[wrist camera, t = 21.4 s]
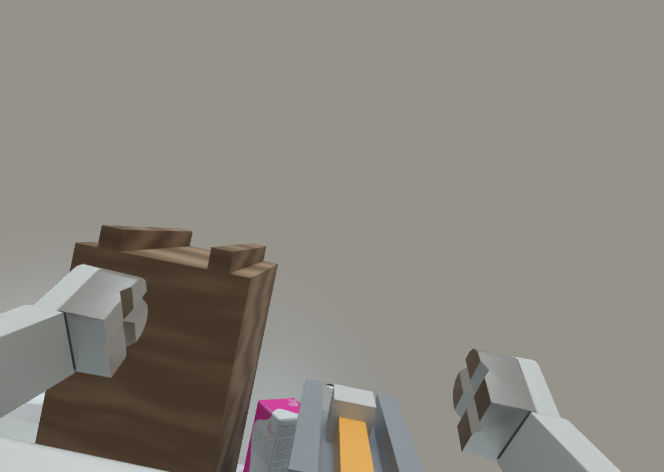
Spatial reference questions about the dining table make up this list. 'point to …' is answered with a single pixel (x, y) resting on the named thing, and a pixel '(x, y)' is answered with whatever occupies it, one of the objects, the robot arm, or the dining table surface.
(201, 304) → the walnut post
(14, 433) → the dining table surface
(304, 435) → the block
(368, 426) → the orange squared block
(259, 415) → the supplement box
